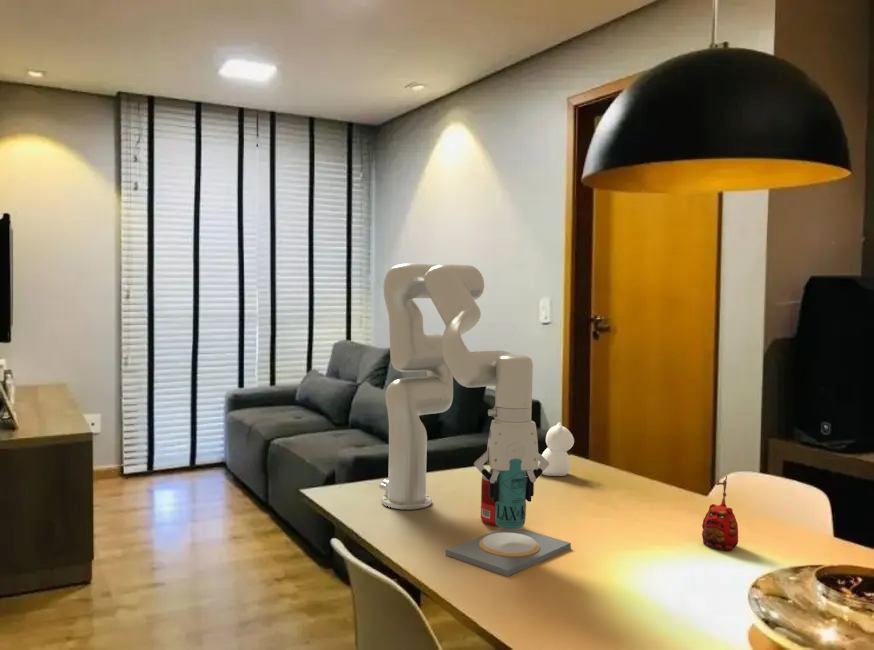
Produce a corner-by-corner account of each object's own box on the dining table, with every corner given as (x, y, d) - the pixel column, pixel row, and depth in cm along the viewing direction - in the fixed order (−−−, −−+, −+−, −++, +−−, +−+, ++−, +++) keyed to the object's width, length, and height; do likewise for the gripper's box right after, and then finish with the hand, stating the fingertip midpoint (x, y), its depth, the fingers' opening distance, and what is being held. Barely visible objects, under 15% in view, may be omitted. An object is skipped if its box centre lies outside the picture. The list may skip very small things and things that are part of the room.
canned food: (512, 528, 177) (514, 480, 176) (478, 525, 178) (479, 478, 178) (516, 518, 184) (517, 472, 184) (482, 515, 186) (484, 470, 185)
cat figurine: (573, 479, 221) (575, 427, 220) (529, 477, 222) (531, 425, 221) (571, 471, 230) (573, 421, 229) (529, 469, 231) (531, 419, 230)
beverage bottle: (487, 530, 161) (490, 435, 160) (509, 523, 166) (511, 431, 165) (511, 538, 156) (513, 440, 155) (532, 531, 161) (535, 436, 160)
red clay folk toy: (696, 545, 168) (699, 477, 167) (709, 538, 173) (712, 471, 172) (731, 554, 163) (735, 484, 162) (743, 546, 168) (746, 478, 167)
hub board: (445, 554, 159) (445, 544, 159) (510, 530, 175) (510, 520, 175) (507, 576, 148) (508, 565, 148) (570, 548, 164) (571, 538, 164)
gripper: (475, 418, 155) (473, 506, 156) (559, 417, 157) (556, 504, 158) (468, 411, 162) (466, 496, 163) (548, 411, 165) (546, 494, 166)
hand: (510, 499), depth 161 cm, fingers closed on beverage bottle, 6 cm apart
